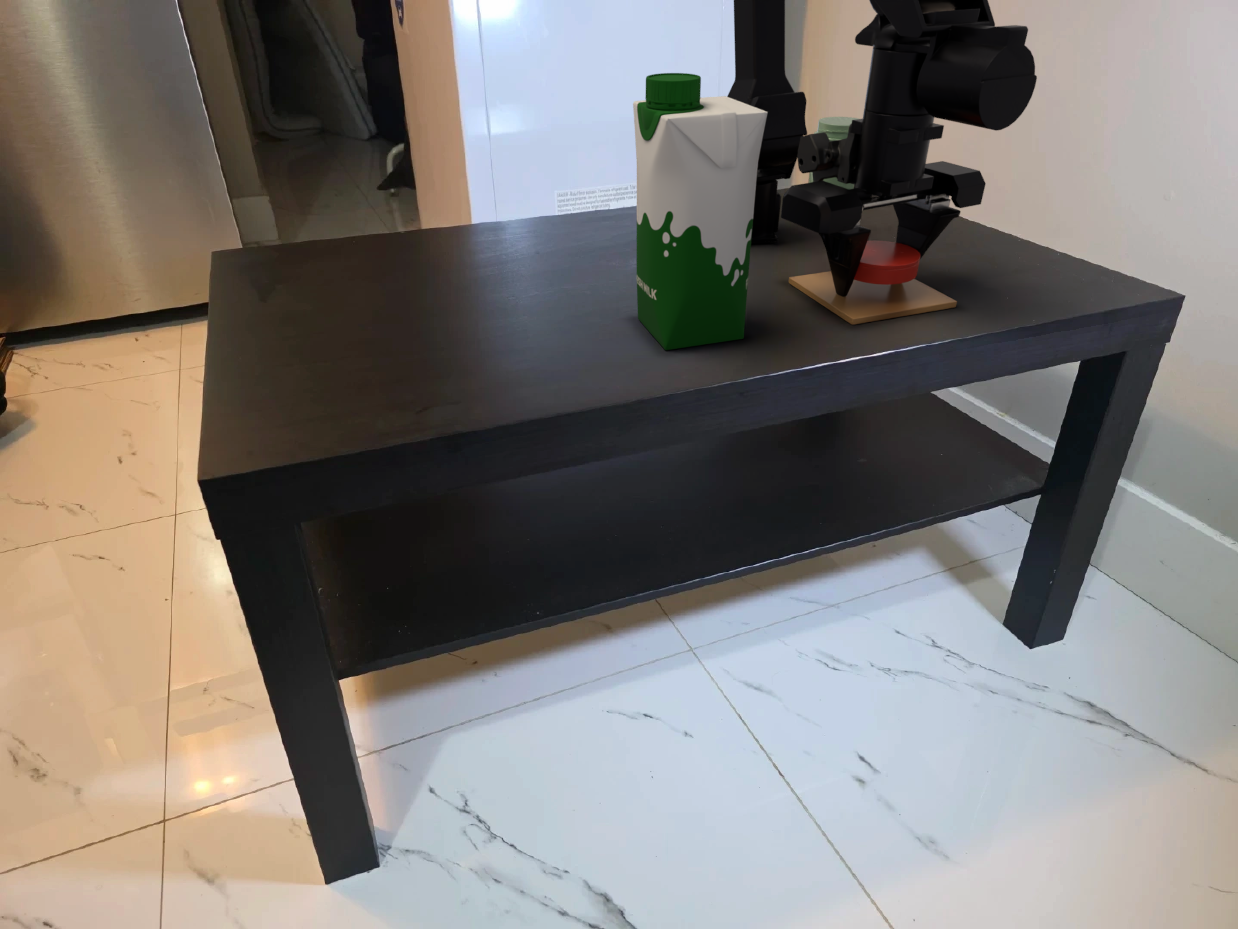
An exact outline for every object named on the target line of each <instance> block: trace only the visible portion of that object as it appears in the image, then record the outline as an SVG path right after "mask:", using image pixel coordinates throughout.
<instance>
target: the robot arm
mask: <svg viewBox="0 0 1238 929" xmlns="http://www.w3.org/2000/svg"><path fill="white" fill-rule="evenodd" d="M868 1H869V4H870V6H871V8H872V10H873V11H874V12H875V14H876V15H875V16H874V17H873V19H872V20H871V22H869V24H867V25H866V26H865V27H864V28H862V29H861V30H860V31H859V32H858V33H857V34H856V35H855V36H854V42H855V44H856V45H859V46H868V47H872V50H871V51H872V52H871V59H870V66H869V72H868V80H867V85H866V86H867V87H866V94H865V99H864V100H865V101H864V108H863V113H862V118H859V119H856V120H852V123H851V124H850V126H849V130H848V136H847V138H845V139H842V140H836V141H830V140H829V138H828V136H827V134H826V133H825V132H823V133H816V134H814V133H810V134H808V130H807V126H806V125H807V124H806V110H807V98H806V94H805V92H804V91H795V90H794V88H793V86H792V84H791V83H790V81H789V79H788V77H787V75H786V0H733V32H734V35H733V36H734V68H735V69H734V73H735V74H734V81H733V83H732V86H731V88H730V90H729V91H728V94H727V95H726V97H729V98H732V99H734V100H737V101H740V102H742V103H745V104H748V105H750V106H753V107H756V108H758V109H761V110H764V111H766V112H768V113H767V118H766V123H765V128H764V133H763V138H762V143H761V148H760V154H759V159H758V167H757V178H756V190H755V202H754V214H753V226H752V238H751V244H764V243H766V244H767V243H776V242H778V236H777V235H776V234H775V233H777V232H778V231H779V226H780V219H783V220H785V221H788V222H791V223H792V224H796V225H798V226H800V227H801V228H805V229H807V230H809V231H811V232H814V233H817V234H818V235H819V236H820V238H821V241H822V243H823V246H824V248H825V251H826V256H827V259H828V264H829V268H830V271H831V273H832V278H833V282H834V286H835V291H836V293H837V294H838V295H840V296H842V297H845V296H847V294H848V292H849V290H850V288H851V286H852V283H853V281H854V278H855V275H856V272H857V269H858V266H859V264H860V261H861V258H862V255H863V252H864V249H865V247H866V244H867V241H869V238H870V235H871V232H872V229H869V228H868V227H865V226H862V225H861V223H862V222H861V221H862V216H863V211H867V210H872V209H877V208H878V209H879V208H883V207H887V206H888V207H889V206H892V207H893V209H894V213H895V216H896V218H897V221H898V223H897V232H896V237H895V238H896V239H895V242H896V243H900V244H904V245H907V246H910V247H912V248H914V249H916V250H917V251H918V252H919V253H920V255H921V257H920V260H921V259H922V258H923V257H924V255H925V254H926V253H927V251H928V250H929V249H930V248H931V246H932V244H933V243H934V242H935V241H936V240H937V239H938V237H940V235H941V234H942V233H943V231H944V230H945V229H946V228H947V227H948V226H949V224H950V223H951V222H953V220H954V219H956V218H957V219H958V218H959V217H960V216H961V210H959V209H964V208H968V207H974V206H979V205H982V202H983V197H984V192H985V188H986V181H985V179H984V177H983V175H982V173H981V171H980V170H979V169H975V168H971V167H967V166H963V165H959V164H956V163H952V162H948V161H945V160H940V161H934V162H928V163H927V160H928V153H929V148H930V142H931V141H933V140H939V139H942V138H943V133H944V128H945V125H944V124H939V123H934V122H935V119H941V120H944V121H949V122H953V123H959V124H962V125H963V124H964V125H967V126H973V127H977V128H983V129H986V130H993V131H996V132H997V131H1002V130H1004V129H1006V128H1009V127H1010V126H1012V125H1013V124H1014V123H1015V122H1016V121H1017V120H1018V119H1019V118H1020V117H1021V116H1022V115H1023V113H1024V111H1025V110H1026V108H1027V107H1028V105H1029V104H1030V101H1031V99H1032V97H1033V94H1034V91H1035V89H1036V84H1037V79H1038V76H1037V75H1036V64H1035V58H1034V55H1033V53H1032V51H1031V50H1030V49H1029V48H1028V46H1026V41H1027V37H1028V32H1029V28H1028V26H1027V25H1018V24H1010V25H998V26H996V23H995V20H994V16H993V13H992V10H991V7H990V3H989V0H868ZM796 163H797V166H798V171H799V172H800V173H801V174H809V173H810V172H812V174H813V182H811V183H808V182H806V183H805V182H804V183H800V184H799V183H798V184H793V185H791V186H790V187H789V188H788V189H787V190H786V191H785V192H784V193H783V196H782V194H780V192H778V186H779V185H778V184H779V180H790V179H791V177H792V174H793V172H794V169H795V166H796ZM835 177H836V178H837V179H838V180H837V181H839V182H842V183H845V184H849V183H851V184H854V189H846V188H843V187H840V186H837V185H834V184H831V183H828V182H825V181H823V180H824V179H828V178H835ZM951 202H952V203H953V205H954V207H955V208H954V207H951V206H950V204H951ZM957 208H959V209H957Z"/></svg>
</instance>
